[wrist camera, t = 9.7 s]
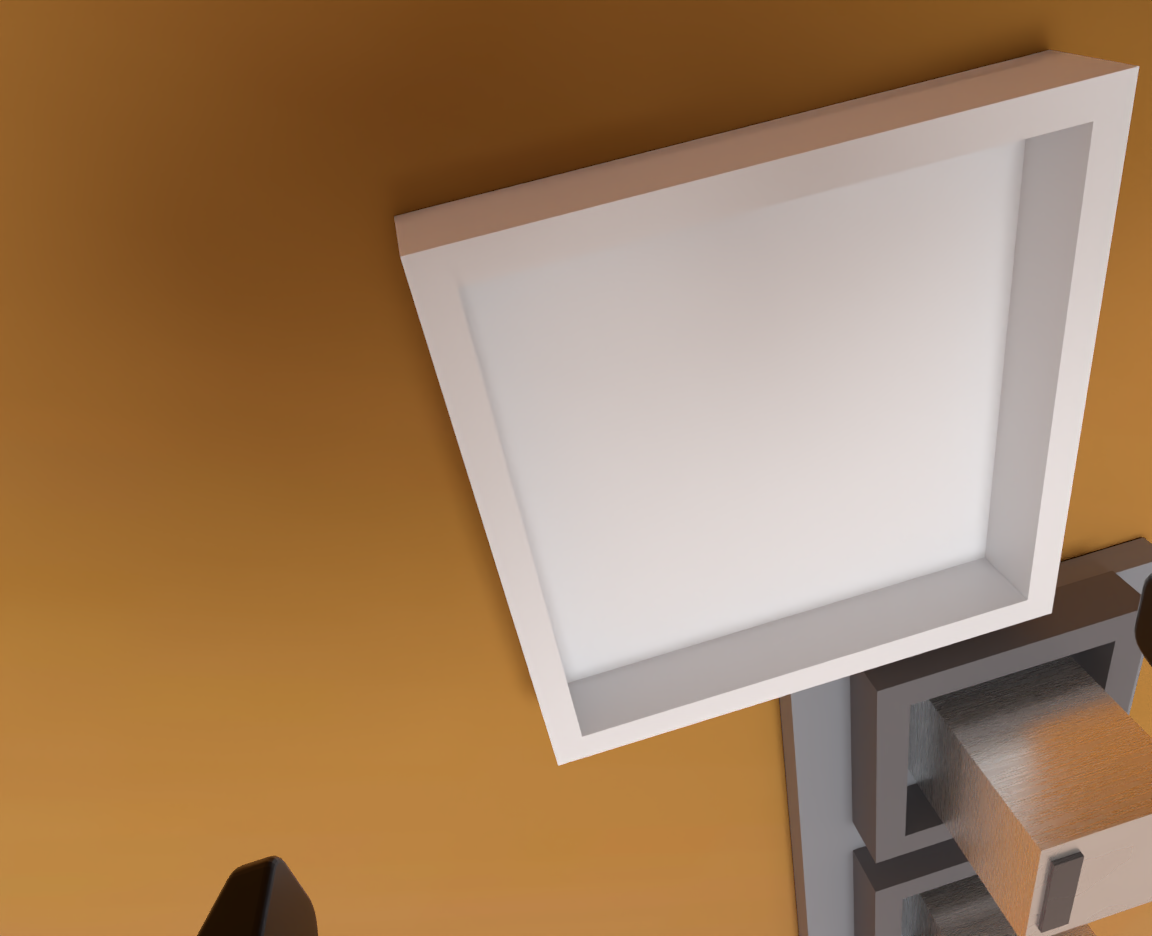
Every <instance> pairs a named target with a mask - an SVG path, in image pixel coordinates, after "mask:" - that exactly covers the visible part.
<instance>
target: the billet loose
mask: <svg viewBox="0 0 1152 936" xmlns="http://www.w3.org/2000/svg"><path fill="white" fill-rule="evenodd" d="M908 770H909V771H910V773H911V774H912V776H913V778H914V779H915V781H916V782H917V784H918V785H919V787H920V788H921V790H922V791H923V793H924V794H925V796H926V797H927V799H928V800H929V802H930V803H931V805H932V806H933V808H934V809H935V811H936V812H937V814H938V815H939V817H940V819H941V820H942V822H943V823H944V825H945V826H946V828H947V829H948V831H949V832H950V834H951V835H952V837H953V838H954V840H955V841H956V843H957V844H958V846H959V847H960V849H961V850H962V852H963V853H964V855H965V856H966V858H967V860H968V861H969V863H970V864H971V866H972V867H973V869H974V870H975V872H976V873H977V875H978V876H979V878H980V879H981V881H982V882H983V884H984V885H985V887H986V888H987V890H988V891H989V893H990V894H991V896H992V897H993V899H994V901H995V902H996V904H997V905H998V907H999V908H1000V910H1001V911H1002V913H1003V914H1004V916H1005V917H1006V919H1007V920H1008V922H1009V923H1010V925H1011V926H1012V928H1013V929H1014V931H1015V932H1016V934H1017V935H1018V936H1051V935H1054V934H1057V933H1060V932H1063V931H1066V930H1069V929H1072V928H1075V927H1078V926H1081V925H1084V924H1087V923H1089V922H1092V921H1095V920H1098V919H1101V918H1104V917H1107V916H1110V915H1113V914H1116V913H1119V912H1122V911H1124V910H1127V909H1130V908H1133V907H1136V906H1139V905H1142V904H1145V903H1148V902H1151V901H1152V738H1151V737H1150V736H1149V735H1148V734H1147V733H1146V732H1145V731H1144V730H1143V729H1142V728H1141V727H1140V726H1139V725H1138V724H1137V723H1136V722H1135V721H1134V720H1133V719H1132V718H1131V717H1130V716H1129V715H1128V714H1127V713H1126V712H1125V711H1124V710H1123V709H1122V708H1121V707H1120V706H1119V705H1118V704H1117V703H1116V702H1115V701H1114V700H1113V699H1112V698H1111V697H1110V695H1109V694H1108V693H1107V692H1106V691H1105V690H1104V689H1103V688H1102V687H1101V686H1100V685H1099V684H1098V683H1097V682H1096V681H1095V680H1094V679H1093V678H1092V677H1091V676H1090V675H1089V674H1088V673H1087V672H1086V671H1085V670H1084V669H1083V668H1082V667H1081V666H1080V665H1079V664H1078V663H1077V662H1076V661H1075V660H1074V659H1073V658H1072V657H1071V656H1070V655H1069V656H1066V657H1063V658H1059V659H1056V660H1053V661H1050V662H1047V663H1043V664H1040V665H1037V666H1034V667H1031V668H1028V669H1024V670H1021V671H1018V672H1015V673H1012V674H1008V675H1005V676H1002V677H999V678H996V679H992V680H989V681H986V682H983V683H980V684H977V685H973V686H970V687H967V688H964V689H961V690H957V691H954V692H951V693H948V694H945V695H941V696H938V697H935V698H932V699H929V700H925V701H922V702H919V703H916V704H913V705H910V728H909V754H908Z"/></svg>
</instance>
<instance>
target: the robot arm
mask: <svg viewBox="0 0 1152 936" xmlns="http://www.w3.org/2000/svg"><path fill="white" fill-rule="evenodd" d="M1134 635H1135V639H1136V642H1137V645H1138V647H1139V649H1140V651H1141V652H1142V654H1143V656H1144V657H1145V658H1146V660H1147V661H1148V662H1149V664H1150V665H1151V666H1152V573H1151V574H1149V575H1148V576H1147V577H1146V579H1145V581H1144V584H1143V588H1142V592H1141V597H1140V602H1139V606H1138V611H1137V616H1136V620H1135V625H1134ZM197 936H318V930H317V921H316V915H315V911H314V908H313V905H312V903H311V900H310V899H309V897H308V895H307V894H306V892H305V891H304V889H303V888H302V887H301V885H300V884H299V882H298V881H297V879H296V878H295V876H294V875H293V873H292V872H291V870H290V869H289V868H288V866H287V865H286V863H285V862H284V861H283V860H282V859H281V858H279V857H277V856H270V857H267V858H263V859H260V860H257V861H254V862H251V863H248V864H245V865H242V866H240V867H238V868H237V869H235V870H234V871H233V872H232V874H231V875H230V876H229V878H228V879H227V881H226V883H225V885H224V887H223V889H222V890H221V892H220V894H219V896H218V898H217V900H216V902H215V903H214V905H213V907H212V909H211V911H210V913H209V914H208V916H207V918H206V920H205V922H204V924H203V926H202V927H201V929H200V931H199V933H198V935H197Z"/></svg>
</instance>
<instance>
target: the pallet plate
mask: <svg viewBox="0 0 1152 936" xmlns="http://www.w3.org/2000/svg"><path fill="white" fill-rule="evenodd" d="M1151 573H1152V544H1151V543H1150V542H1149V541H1147V540H1146V539H1145V538H1140V539H1136V540H1133V541H1130V542H1126V543H1123V544H1120V545H1117V546H1113V547H1110V548H1107V549H1103V550H1100V551H1097V552H1094V553H1090V554H1087V555H1084V556H1080V557H1077V558H1074V559H1071V560H1067V561H1064V562H1061V563H1060V565H1059V571H1058V577H1057V583H1056V589H1055V596H1054V602H1053V608H1052V613H1051V614H1047V615H1044V616H1041V617H1038V618H1034V619H1031V620H1028V621H1025V622H1021V623H1018V624H1015V625H1012V626H1008V627H1005V628H1002V629H999V630H996V631H992V632H989V633H986V634H983V635H979V636H976V637H973V638H970V639H966V640H963V641H960V642H957V643H953V644H950V645H947V646H944V647H940V648H937V649H934V650H931V651H928V652H924V653H921V654H918V655H915V656H911V657H908V658H905V659H902V660H898V661H895V662H892V663H889V664H885V665H882V666H879V667H876V668H873V669H869V670H866V671H863V672H860V673H856V674H853V675H850V676H847V677H843V678H840V679H837V680H834V681H830V682H827V683H824V684H821V685H817V686H814V687H811V688H808V689H805V690H801V691H798V692H795V693H792V694H788V695H785V696H782V697H779V699H780V711H781V723H782V735H783V747H784V759H785V771H786V783H787V795H788V807H789V819H790V831H791V843H792V855H793V867H794V879H795V891H796V903H797V915H798V927H799V936H903V934H902V932H901V926H902V902H903V899H904V898H907V897H910V896H913V895H916V894H919V893H922V892H925V891H928V890H931V889H934V888H937V887H940V886H943V885H946V884H949V883H952V882H955V881H958V880H961V879H964V878H967V877H970V876H973V875H976V874H977V873H976V872H975V870H974V869H973V867H972V866H971V864H970V863H969V861H968V860H967V858H966V856H965V855H964V853H963V852H962V850H961V849H960V847H959V846H958V844H957V843H956V841H955V840H954V838H953V837H952V835H951V834H950V832H949V831H948V829H947V828H946V826H945V825H944V823H943V822H942V820H941V819H940V817H939V815H938V814H937V812H936V811H935V809H934V808H933V806H932V805H931V803H930V802H929V800H928V799H927V797H926V796H925V794H924V793H923V791H922V790H921V788H920V787H919V785H918V784H917V782H916V781H915V779H914V778H913V776H912V774H911V773H910V771H909V770H908V754H909V728H910V705H913V704H916V703H919V702H922V701H925V700H929V699H932V698H935V697H938V696H941V695H945V694H948V693H951V692H954V691H957V690H961V689H964V688H967V687H970V686H973V685H977V684H980V683H983V682H986V681H989V680H992V679H996V678H999V677H1002V676H1005V675H1008V674H1012V673H1015V672H1018V671H1021V670H1024V669H1028V668H1031V667H1034V666H1037V665H1040V664H1043V663H1047V662H1050V661H1053V660H1056V659H1059V658H1063V657H1066V656H1069V655H1070V656H1071V657H1072V658H1073V659H1074V660H1075V661H1076V662H1077V663H1078V664H1079V665H1080V666H1081V667H1082V668H1083V669H1084V670H1085V671H1086V672H1087V673H1088V674H1089V675H1090V676H1091V677H1092V678H1093V679H1094V680H1095V681H1096V682H1097V683H1098V684H1099V685H1100V686H1101V687H1102V688H1103V689H1104V690H1105V691H1106V692H1107V693H1108V694H1109V695H1110V697H1111V698H1112V699H1113V700H1114V701H1115V702H1116V703H1117V704H1118V705H1119V706H1120V707H1121V708H1122V709H1123V710H1124V711H1125V712H1126V713H1127V714H1128V715H1129V713H1130V709H1131V705H1132V701H1133V697H1134V693H1135V689H1136V685H1137V681H1138V677H1139V673H1140V669H1141V665H1142V661H1143V657H1144V656H1143V654H1142V652H1141V651H1140V649H1139V647H1138V645H1137V642H1136V639H1135V635H1134V625H1135V620H1136V616H1137V611H1138V606H1139V602H1140V597H1141V592H1142V588H1143V584H1144V581H1145V579H1146V577H1147V576H1148V575H1149V574H1151Z"/></svg>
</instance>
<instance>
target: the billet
mask: <svg viewBox="0 0 1152 936" xmlns="http://www.w3.org/2000/svg"><path fill="white" fill-rule="evenodd" d="M901 932H902V934H903V936H1018V935H1017V934H1016V932H1015V931H1014V929H1013V928H1012V926H1011V925H1010V923H1009V922H1008V920H1007V919H1006V917H1005V916H1004V914H1003V913H1002V911H1001V910H1000V908H999V907H998V905H997V904H996V902H995V901H994V899H993V897H992V896H991V894H990V893H989V891H988V890H987V888H986V887H985V885H984V884H983V882H982V881H981V879H980V878H979V876H978V875H977V874H976V875H973V876H970V877H967V878H964V879H961V880H958V881H955V882H952V883H949V884H946V885H943V886H940V887H937V888H934V889H931V890H928V891H925V892H922V893H919V894H916V895H913V896H910V897H907V898H904V899H903V902H902V926H901ZM1051 936H1096V935H1095V934H1094V932H1093V931H1092V930H1091V928H1090V927H1089V926H1088V924H1084V925H1081V926H1078V927H1075V928H1072V929H1069V930H1066V931H1063V932H1060V933H1057V934H1054V935H1051Z"/></svg>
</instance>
